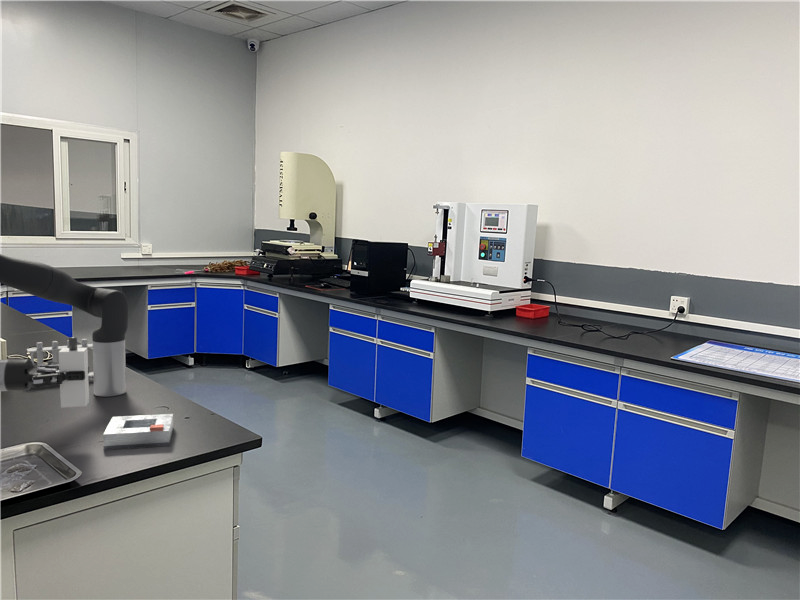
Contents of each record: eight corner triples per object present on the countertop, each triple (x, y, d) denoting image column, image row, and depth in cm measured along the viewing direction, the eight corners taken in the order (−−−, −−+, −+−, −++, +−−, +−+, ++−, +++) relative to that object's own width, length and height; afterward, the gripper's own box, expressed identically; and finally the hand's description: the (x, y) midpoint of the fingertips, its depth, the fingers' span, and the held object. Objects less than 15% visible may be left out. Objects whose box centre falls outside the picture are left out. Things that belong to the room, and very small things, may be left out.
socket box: (112, 431, 157) (112, 413, 157) (173, 427, 162) (173, 411, 161) (103, 450, 145) (103, 431, 145) (169, 446, 149) (168, 427, 149)
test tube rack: (109, 372, 213) (109, 336, 211) (112, 375, 209) (111, 338, 207) (27, 381, 198) (26, 342, 196) (28, 384, 195) (27, 344, 193)
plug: (64, 402, 149) (62, 336, 147) (89, 401, 151) (87, 335, 148) (60, 407, 145) (58, 339, 143) (85, 406, 147) (83, 339, 144)
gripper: (-4, 367, 135) (79, 365, 140) (16, 352, 149) (92, 351, 154) (-2, 399, 137) (81, 396, 141) (18, 381, 150) (93, 379, 155)
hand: (86, 372), depth 148 cm, fingers closed on plug, 4 cm apart
